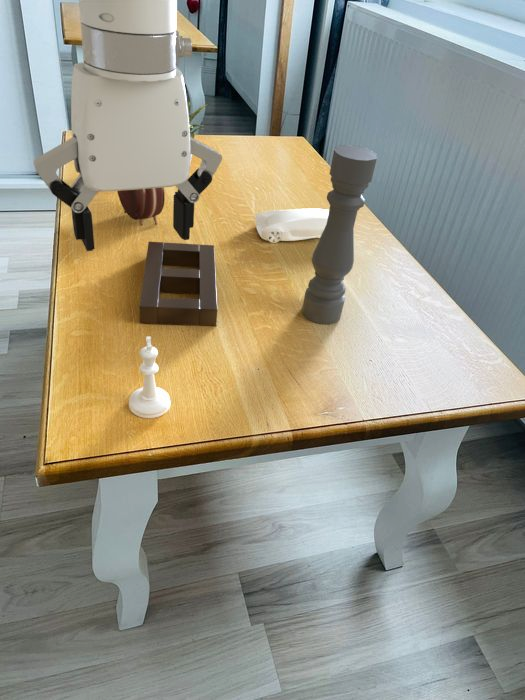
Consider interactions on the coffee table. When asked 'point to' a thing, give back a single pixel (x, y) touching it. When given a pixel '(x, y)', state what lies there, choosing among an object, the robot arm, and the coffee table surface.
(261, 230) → the toy car
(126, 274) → the coffee table surface
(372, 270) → the coffee table surface
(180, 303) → the socket block
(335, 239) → the candle holder
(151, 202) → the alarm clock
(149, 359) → the chess piece
